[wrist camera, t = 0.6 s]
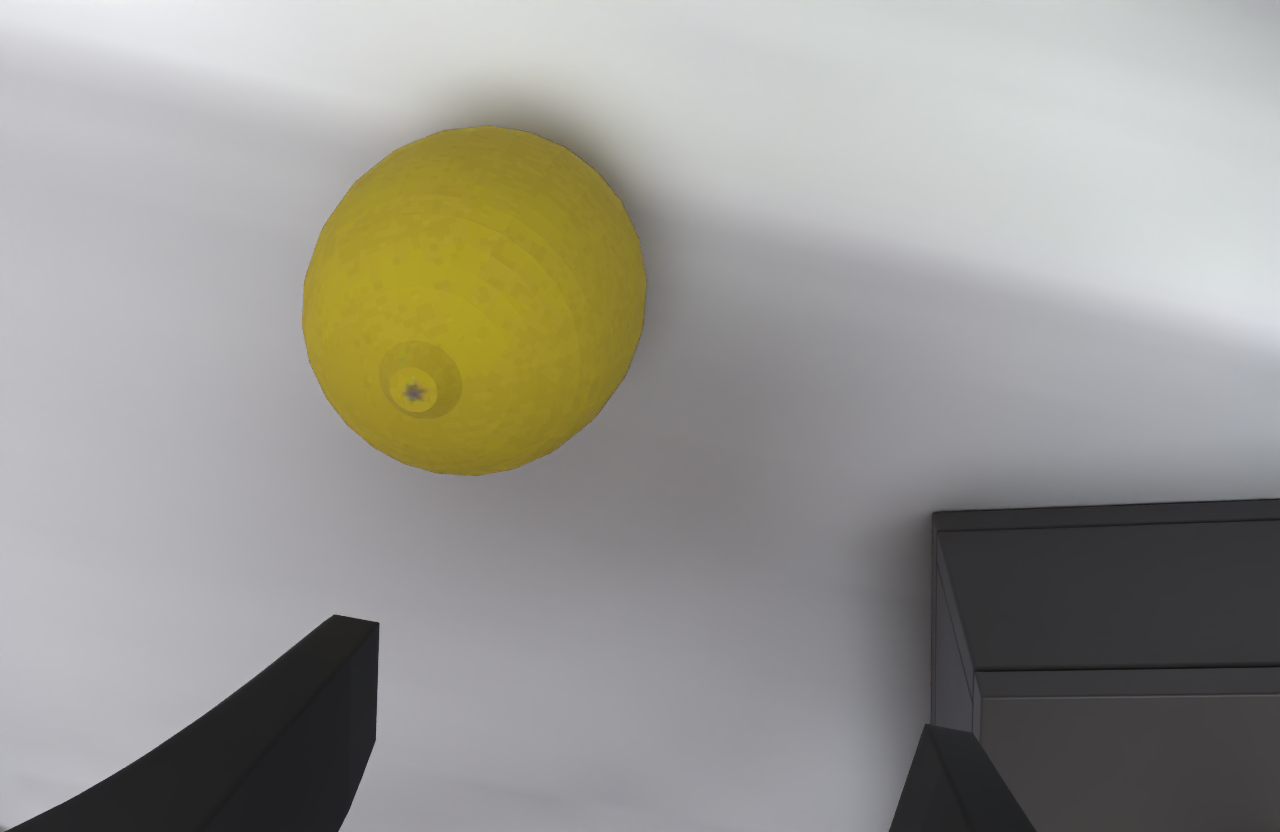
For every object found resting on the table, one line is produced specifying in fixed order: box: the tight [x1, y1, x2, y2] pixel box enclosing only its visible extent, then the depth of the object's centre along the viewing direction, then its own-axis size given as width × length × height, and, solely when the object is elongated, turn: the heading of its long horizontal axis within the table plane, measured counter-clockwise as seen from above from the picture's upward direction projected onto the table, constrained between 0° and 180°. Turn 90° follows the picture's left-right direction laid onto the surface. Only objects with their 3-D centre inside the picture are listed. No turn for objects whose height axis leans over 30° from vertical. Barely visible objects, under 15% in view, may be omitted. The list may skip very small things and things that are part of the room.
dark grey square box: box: [931, 500, 1280, 732], centre depth 22 cm, size 12×12×5 cm
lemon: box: [302, 126, 646, 476], centre depth 18 cm, size 6×6×8 cm
